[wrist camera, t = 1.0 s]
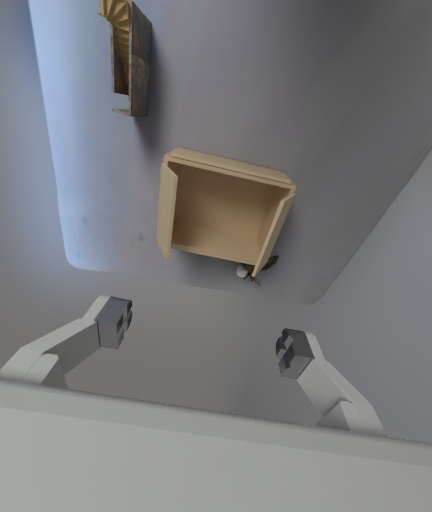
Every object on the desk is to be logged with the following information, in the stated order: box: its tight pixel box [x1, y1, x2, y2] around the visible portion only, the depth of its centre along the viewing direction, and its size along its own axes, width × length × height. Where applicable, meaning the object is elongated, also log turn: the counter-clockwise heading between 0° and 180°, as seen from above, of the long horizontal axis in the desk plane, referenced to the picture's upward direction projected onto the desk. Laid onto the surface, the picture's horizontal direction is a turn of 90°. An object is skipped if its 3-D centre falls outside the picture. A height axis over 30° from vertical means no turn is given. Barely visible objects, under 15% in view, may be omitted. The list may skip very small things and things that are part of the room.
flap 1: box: [157, 163, 178, 260], centre depth 32 cm, size 13×1×6 cm
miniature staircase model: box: [97, 0, 151, 116], centre depth 30 cm, size 11×3×10 cm, turn 166°
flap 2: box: [252, 193, 296, 277], centre depth 34 cm, size 13×1×6 cm, turn 168°
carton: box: [164, 147, 297, 265], centre depth 40 cm, size 16×20×10 cm
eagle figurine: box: [236, 255, 279, 286], centre depth 49 cm, size 8×7×9 cm
